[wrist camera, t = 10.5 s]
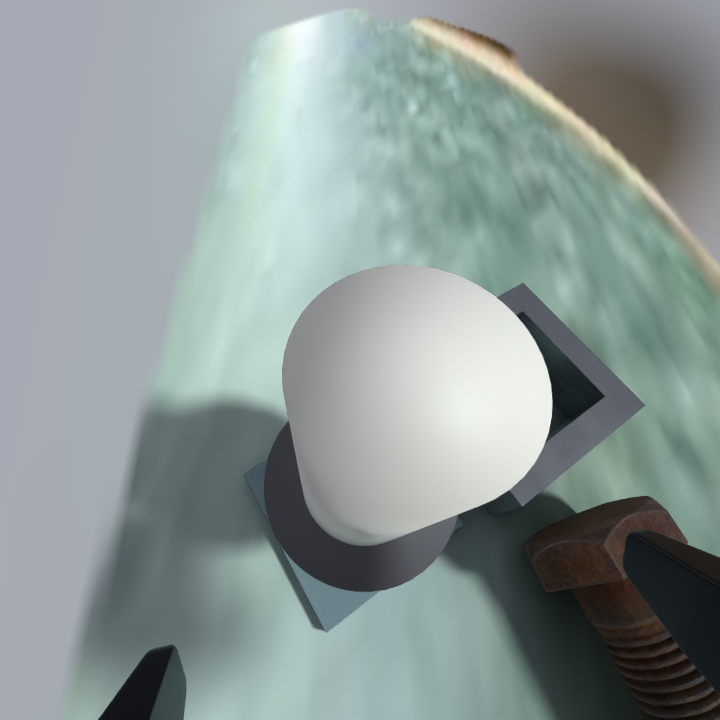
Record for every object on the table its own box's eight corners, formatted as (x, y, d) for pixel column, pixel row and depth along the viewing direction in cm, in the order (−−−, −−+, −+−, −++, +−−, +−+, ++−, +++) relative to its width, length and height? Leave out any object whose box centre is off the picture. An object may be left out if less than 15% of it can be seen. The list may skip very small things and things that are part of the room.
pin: (452, 497, 18) (697, 368, 6) (357, 624, 15) (477, 797, 4) (348, 404, 19) (392, 167, 8) (246, 505, 17) (93, 371, 5)
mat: (460, 525, 18) (463, 524, 17) (326, 631, 15) (325, 633, 15) (372, 400, 20) (373, 397, 20) (244, 476, 18) (243, 474, 17)
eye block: (603, 426, 21) (645, 405, 18) (492, 515, 18) (522, 506, 15) (499, 315, 23) (523, 282, 21) (390, 378, 21) (401, 351, 18)
